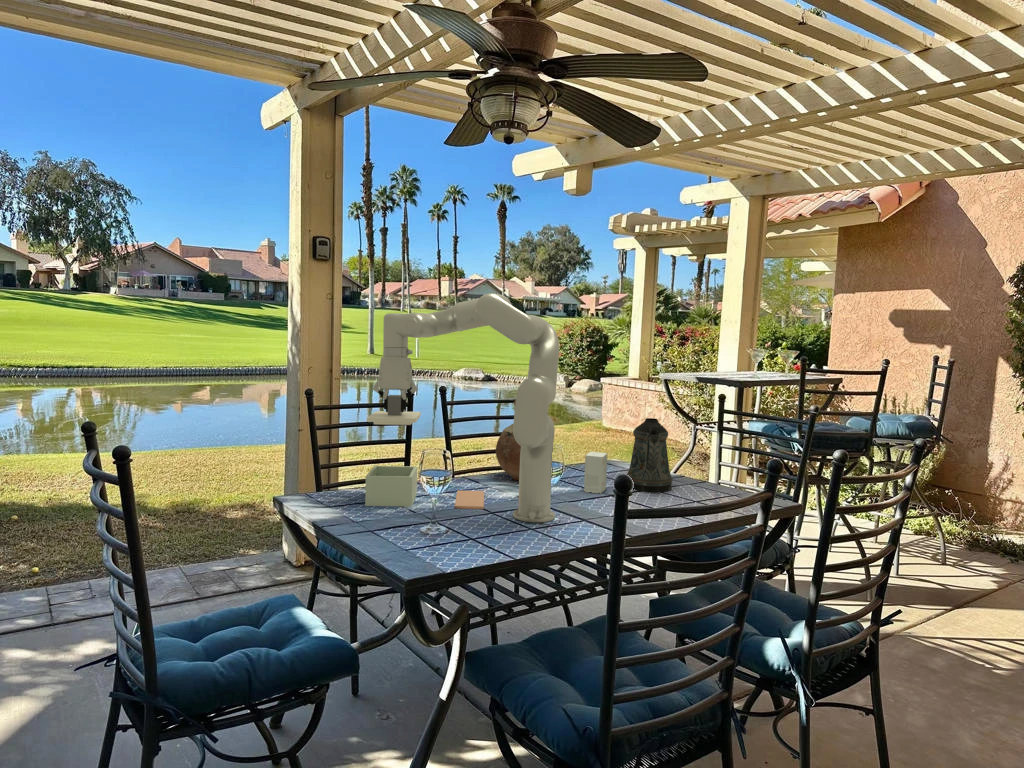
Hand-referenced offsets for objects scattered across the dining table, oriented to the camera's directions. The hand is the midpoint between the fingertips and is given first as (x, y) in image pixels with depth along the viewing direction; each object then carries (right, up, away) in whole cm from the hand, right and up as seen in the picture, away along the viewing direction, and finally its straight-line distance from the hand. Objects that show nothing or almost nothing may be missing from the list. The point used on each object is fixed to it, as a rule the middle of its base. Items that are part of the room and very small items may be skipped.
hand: (395, 411), depth 212 cm
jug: (+41, -27, +42) cm, 65 cm away
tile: (+18, -29, +7) cm, 35 cm away
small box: (+66, -29, +26) cm, 76 cm away
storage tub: (-1, -29, +2) cm, 29 cm away
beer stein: (+87, -29, +32) cm, 97 cm away
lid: (0, -3, 0) cm, 3 cm away
